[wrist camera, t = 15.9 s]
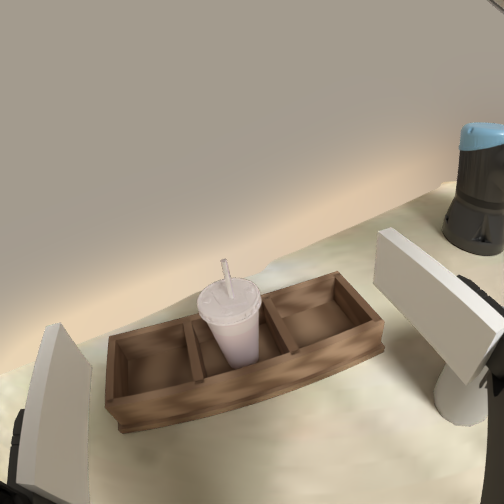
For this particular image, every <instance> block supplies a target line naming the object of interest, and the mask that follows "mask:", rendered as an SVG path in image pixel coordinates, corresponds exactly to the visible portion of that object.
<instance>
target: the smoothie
mask: <svg viewBox="0 0 504 504" xmlns="http://www.w3.org/2000/svg"><path fill="white" fill-rule="evenodd" d="M221 264H222V269H223V273H224V278H225V279H222V280H219V281H216V282H214V283H212V284H210V285H208V286H207V287H206V288H204V289H203V290H202V291H201V293H200V294H199V296H198V298H197V307H198V311H199V315H200V316H201V318H202V319H203V320H205V321H206V322H207V324H208V326H209V328H210V330H211V331H212V333H213V335H214V337H215V339H216V341H217V343H218V345H219V347H220V349H221V350H222V352H223V354H224V356H225V358H226V360H227V362H228V363H229V365H230V366H231V367H232V368H234V369H240V368H243V367H246V366H249V365H253V364H256V363H257V362H258V359H259V308H260V305H261V296H260V291H259V288H258V287H257V286H256V285H255V284H254V283H253V282H251V281H249V280H247V279H243V278H231V277H230V272H229V268H228V263H227V259H222V260H221Z"/></svg>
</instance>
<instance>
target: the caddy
mask: <svg viewBox="0 0 504 504" xmlns="http://www.w3.org/2000/svg"><path fill="white" fill-rule="evenodd" d="M260 296H261V305H260V308H259V359H258V362H257V363H256V364H253V365H249V366H246V367H243V368H240V369H234V368H232V367H231V366H230V365H229V363H228V362H227V360H226V358H225V356H224V354H223V352H222V350H221V349H220V347H219V345H218V343H217V341H216V339H215V337H214V335H213V333H212V331H211V330H210V328H209V326H208V324H207V322H206V321H205V320H203V319H202V318H201V316H200V315H199V313H198V314H194V315H190V316H187V317H183V318H179V319H176V320H172V321H168V322H164V323H161V324H157V325H153V326H149V327H145V328H141V329H137V330H133V331H129V332H125V333H121V334H117V335H113V336H109V342H108V354H107V368H106V388H105V408H106V409H107V411H108V412H109V413H110V414H111V415H112V416H113V417H114V418H115V419H116V420H117V421H118V430H119V431H120V432H121V433H122V434H124V433H131V432H137V431H143V430H149V429H154V428H159V427H164V426H169V425H174V424H179V423H183V422H188V421H192V420H196V419H200V418H205V417H208V416H212V415H216V414H220V413H224V412H227V411H231V410H234V409H238V408H241V407H244V406H248V405H251V404H254V403H257V402H261V401H264V400H267V399H270V398H273V397H276V396H279V395H282V394H284V393H287V392H290V391H293V390H296V389H298V388H301V387H304V386H306V385H309V384H312V383H314V382H317V381H319V380H322V379H324V378H327V377H329V376H331V375H334V374H336V373H339V372H341V371H343V370H346V369H348V368H350V367H352V366H355V365H357V364H359V363H361V362H364V361H366V360H368V359H370V358H372V357H374V356H376V355H378V354H380V353H383V352H384V349H385V346H384V345H383V343H382V342H381V337H382V333H383V328H384V323H385V322H384V321H383V320H382V318H381V317H380V316H379V315H378V314H377V313H376V312H375V311H374V310H373V309H372V307H371V306H370V305H369V304H368V303H367V302H366V301H365V300H364V299H363V298H362V297H361V295H360V294H359V293H358V292H357V291H356V290H355V289H354V288H353V287H352V286H351V285H350V284H349V283H348V281H347V280H346V279H345V278H344V277H343V276H342V275H341V274H340V273H339V272H338V271H336V272H333V273H330V274H327V275H324V276H321V277H318V278H315V279H312V280H308V281H305V282H302V283H299V284H296V285H293V286H289V287H286V288H283V289H280V290H276V291H273V292H270V293H267V294H263V295H260Z"/></svg>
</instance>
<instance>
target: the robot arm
mask: <svg viewBox="0 0 504 504" xmlns="http://www.w3.org/2000/svg"><path fill="white" fill-rule="evenodd" d="M487 1H488V2H490V3H491V4H492V5H493V6H495V8H497V9H498V10H499V11H500V12H502V13H503V14H504V0H487ZM459 150H460V156H459V167H458V176H457V186H456V193H455V197H454V199H453V201H452V203H451V205H450V207H449V209H448V211H447V213H446V215H445V218H444V222H443V228H442V230H443V233H444V235H445V237H446V238H447V239H448V240H449V241H450V242H451V243H453V244H454V245H456V246H457V247H459V248H461V249H463V250H465V251H468V252H471V253H474V254H478V255H487V256H490V255H497V254H499V253H501V252H502V251H503V250H504V125H501V124H495V123H469V124H466V125H464V126H463V128H462V130H461V138H460V145H459ZM373 284H374V285H375V286H376V287H377V288H378V289H379V290H380V291H381V292H382V293H383V294H384V295H385V297H386V298H387V299H388V300H389V301H390V302H391V303H392V304H393V305H394V306H395V307H396V308H397V309H398V310H399V311H400V312H401V313H402V314H403V315H404V316H405V318H406V319H407V320H408V321H409V322H410V323H411V324H412V325H413V326H414V327H415V328H416V329H417V331H418V332H419V333H420V334H421V335H422V336H423V337H424V338H425V339H426V340H427V342H428V343H429V344H430V345H431V346H432V347H433V348H434V349H435V350H436V352H437V353H438V354H439V355H440V356H441V357H442V358H443V360H444V361H445V362H446V363H447V364H448V365H449V367H450V368H451V369H452V370H453V371H454V372H455V373H456V375H457V376H458V377H459V378H460V379H461V381H462V382H463V383H464V384H465V385H468V384H469V383H470V382H471V381H473V380H474V379H475V378H476V377H478V376H479V374H480V373H481V371H482V370H483V368H484V366H485V365H486V366H487V367H488V371H487V372H486V374H485V376H484V377H483V379H482V380H481V382H480V383H479V388H482V386H483V385H484V383H485V382H486V381H487V384H486V386H485V389H487V395H488V436H487V454H486V466H485V475H484V483H483V490H482V497H481V503H480V504H504V308H503V307H502V306H500V305H499V304H498V303H497V302H496V301H495V300H494V299H492V298H491V297H490V296H488V295H487V293H485V292H484V291H483V290H480V287H478V286H477V285H476V284H475V283H474V282H472V281H471V280H469V279H467V278H465V277H463V276H461V275H458V276H455V275H454V274H453V273H451V272H450V271H449V270H448V269H447V268H445V267H444V266H443V265H441V264H440V263H439V262H438V261H436V260H435V259H434V258H433V257H431V256H430V255H429V254H427V253H426V252H425V251H423V250H422V249H421V248H419V247H418V246H417V245H415V244H414V243H413V242H411V241H410V240H409V239H407V238H406V237H405V236H403V235H402V234H400V233H399V232H398V231H396V230H395V229H393V228H392V227H390V228H386V229H383V230H380V231H377V245H376V258H375V268H374V278H373ZM91 377H92V366H91V365H90V364H89V362H88V361H87V360H86V358H85V357H84V355H83V354H82V353H81V351H80V350H79V349H78V347H77V346H76V344H75V343H74V341H73V340H72V339H71V337H70V336H69V334H68V333H67V331H66V330H65V328H64V327H63V325H62V324H61V323H57V324H52V325H49V326H46V328H45V331H44V334H43V338H42V341H41V344H40V348H39V351H38V355H37V359H36V362H35V366H34V370H33V374H32V378H31V382H30V387H29V391H28V396H27V401H26V406H25V409H20V411H19V413H18V415H17V418H16V420H15V422H14V428H13V436H12V441H11V444H12V447H11V449H10V457H9V467H8V479H7V485H6V484H5V483H3V482H1V481H0V504H90V495H89V476H88V423H89V403H90V389H91Z"/></svg>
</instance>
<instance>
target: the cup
mask: <svg viewBox="0 0 504 504" xmlns="http://www.w3.org/2000/svg"><path fill="white" fill-rule="evenodd" d="M502 307H503V306H502ZM503 308H504V307H503ZM487 371H488V367H487V366H486V365H485V366H484V368H483V370H482V371H481V373H480V374H479V376H478V377H476V378H475V379H474V380H473V381H471V382H470V383H469V384H468V385H465V384H464V383H463V382H462V381H461V379H460V378H459V377H458V376H457V375H456V373H455V372H454V371H453V370H452V369H451V368H450V367H449V365H448V364H447V363H446V364H445V366H444V368H443V370H442V372H441V374H440V376H439V378H438V380H437V383H436V385H435V388H434V391H433V392H434V401H435V406H436V407H437V409H438V411H439V412H440V414H441V415H442V417H443V418H445V419H446V420H448V421H449V422H451V423H453V424H454V425H458V426H469V427H470V426H473V425H475V424H478V423H480V422H482V421H484V420H485V418H486V417H487V416H488V395H487V389H485V386H486V384H487V381H486V382H485V383H484V385H483V386H482V388H479V383H480V382H481V380H482V379H483V377H484V376H485V374H486V372H487Z"/></svg>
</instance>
